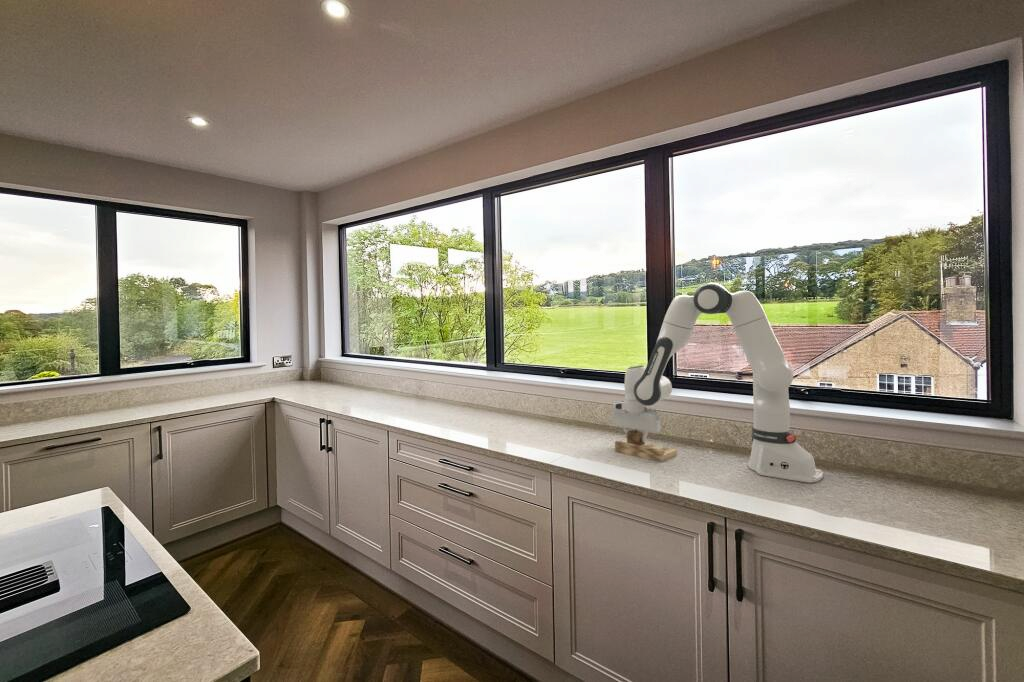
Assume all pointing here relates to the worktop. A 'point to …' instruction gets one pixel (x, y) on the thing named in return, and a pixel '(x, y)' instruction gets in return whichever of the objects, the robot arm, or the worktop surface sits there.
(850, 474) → the worktop surface
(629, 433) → the brown wooden block
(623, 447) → the board
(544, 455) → the worktop surface
